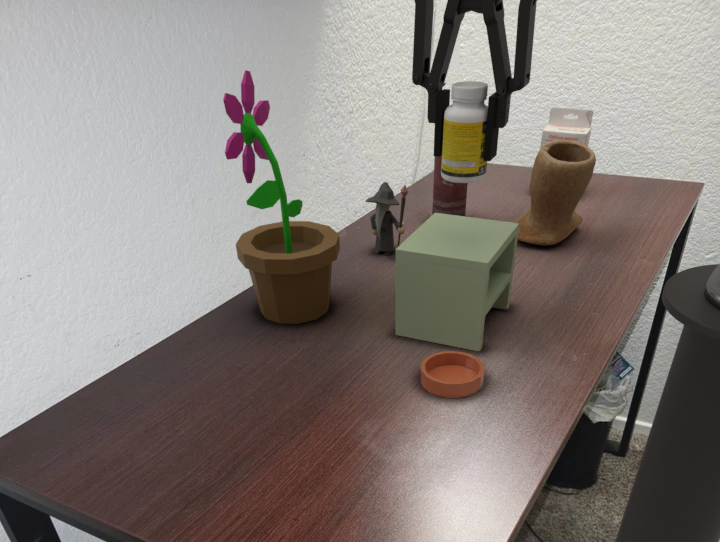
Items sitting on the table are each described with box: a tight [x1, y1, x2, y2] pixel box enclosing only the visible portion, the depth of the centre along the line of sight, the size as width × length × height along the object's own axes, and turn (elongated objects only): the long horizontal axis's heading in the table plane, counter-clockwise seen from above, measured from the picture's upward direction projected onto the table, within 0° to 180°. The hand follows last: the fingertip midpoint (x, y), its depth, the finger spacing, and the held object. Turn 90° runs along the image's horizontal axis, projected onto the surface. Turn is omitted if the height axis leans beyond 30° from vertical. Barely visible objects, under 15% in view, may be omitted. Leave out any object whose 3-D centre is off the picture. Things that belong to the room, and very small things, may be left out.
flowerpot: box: [222, 70, 341, 325], centre depth 88 cm, size 14×14×30 cm
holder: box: [420, 350, 485, 399], centre depth 80 cm, size 8×8×2 cm
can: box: [431, 155, 469, 217], centre depth 118 cm, size 6×6×14 cm
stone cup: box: [513, 140, 597, 246], centre depth 110 cm, size 15×12×15 cm
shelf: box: [394, 213, 519, 352], centre depth 89 cm, size 12×14×12 cm
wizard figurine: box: [365, 181, 409, 256], centre depth 108 cm, size 8×6×12 cm
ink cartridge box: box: [539, 106, 594, 150], centre depth 127 cm, size 9×5×15 cm, turn 66°
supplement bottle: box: [441, 80, 489, 184], centre depth 76 cm, size 5×5×10 cm
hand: (464, 155), depth 78 cm, fingers closed on supplement bottle, 5 cm apart
